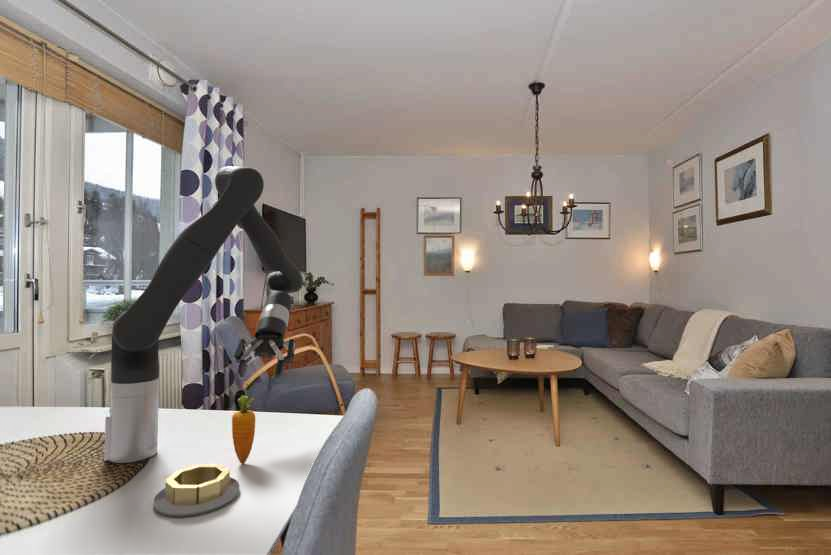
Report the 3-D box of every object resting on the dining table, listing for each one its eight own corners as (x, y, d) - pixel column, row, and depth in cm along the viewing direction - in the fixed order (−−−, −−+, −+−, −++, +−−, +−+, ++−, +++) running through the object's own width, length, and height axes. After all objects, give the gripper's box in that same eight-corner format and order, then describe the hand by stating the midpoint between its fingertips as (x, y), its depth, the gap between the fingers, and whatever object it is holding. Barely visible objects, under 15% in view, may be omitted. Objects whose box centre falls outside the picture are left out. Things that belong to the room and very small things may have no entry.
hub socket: (136, 518, 72) (136, 494, 72) (177, 480, 86) (178, 460, 86) (221, 517, 73) (222, 493, 73) (249, 479, 87) (249, 459, 87)
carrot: (234, 459, 97) (236, 392, 97) (257, 458, 97) (258, 392, 98) (227, 468, 92) (228, 397, 92) (251, 468, 93) (252, 397, 93)
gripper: (243, 315, 115) (225, 366, 103) (297, 315, 115) (286, 367, 104) (249, 333, 120) (233, 384, 108) (301, 333, 120) (291, 384, 109)
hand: (259, 375), depth 106 cm, fingers open, 8 cm apart
